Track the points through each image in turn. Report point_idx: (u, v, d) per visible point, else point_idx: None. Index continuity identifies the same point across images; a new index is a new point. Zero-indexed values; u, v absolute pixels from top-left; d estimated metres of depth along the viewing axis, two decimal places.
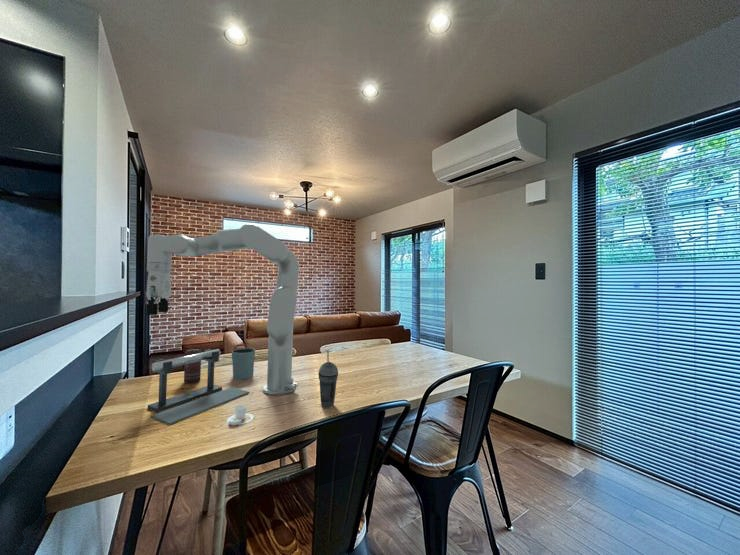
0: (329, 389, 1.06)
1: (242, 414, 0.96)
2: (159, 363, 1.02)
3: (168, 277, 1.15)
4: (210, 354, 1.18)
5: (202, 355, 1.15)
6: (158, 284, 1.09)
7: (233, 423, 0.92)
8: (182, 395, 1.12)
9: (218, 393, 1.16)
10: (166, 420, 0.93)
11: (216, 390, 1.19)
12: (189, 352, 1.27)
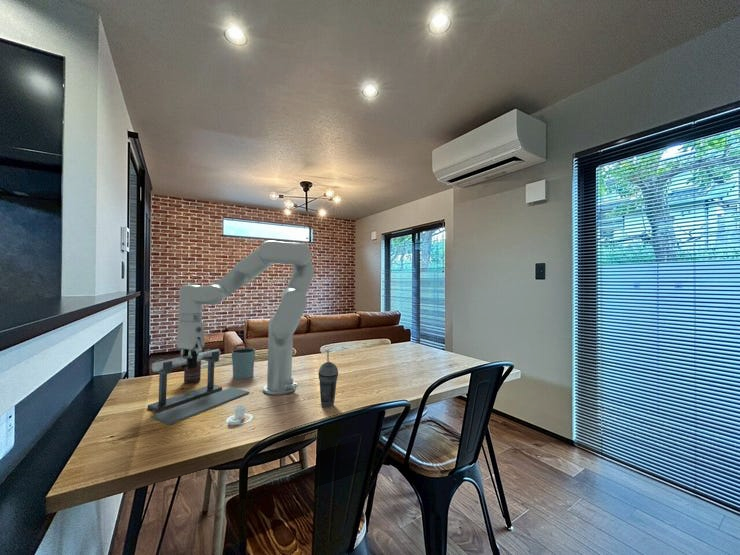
0: (329, 389, 1.06)
1: (241, 414, 0.96)
2: (159, 363, 1.02)
3: None
4: (210, 354, 1.18)
5: (202, 355, 1.15)
6: (202, 335, 1.12)
7: (232, 423, 0.92)
8: (182, 395, 1.12)
9: (218, 393, 1.16)
10: (166, 420, 0.93)
11: (216, 390, 1.19)
12: None
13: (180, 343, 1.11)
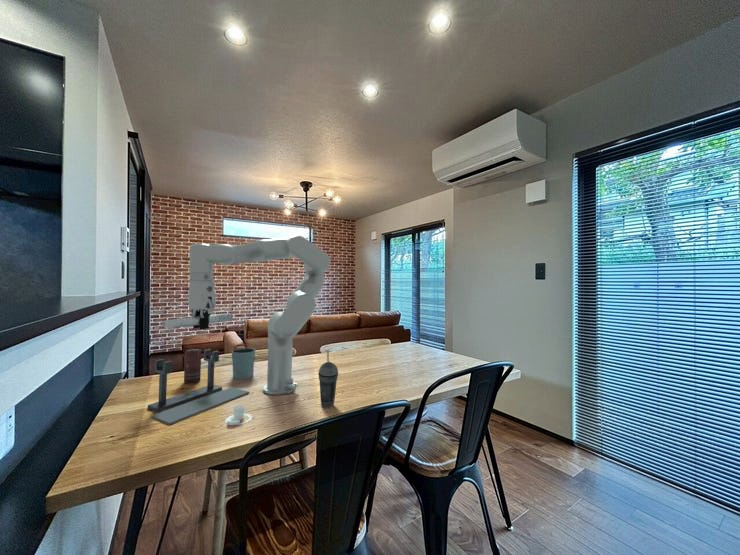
0: (329, 389, 1.06)
1: (240, 414, 0.96)
2: (170, 321, 1.00)
3: None
4: (222, 317, 1.16)
5: (213, 317, 1.13)
6: (214, 294, 1.09)
7: (231, 423, 0.92)
8: (182, 395, 1.12)
9: (218, 393, 1.16)
10: (166, 420, 0.93)
11: (216, 390, 1.19)
12: (189, 352, 1.27)
13: (191, 304, 1.09)
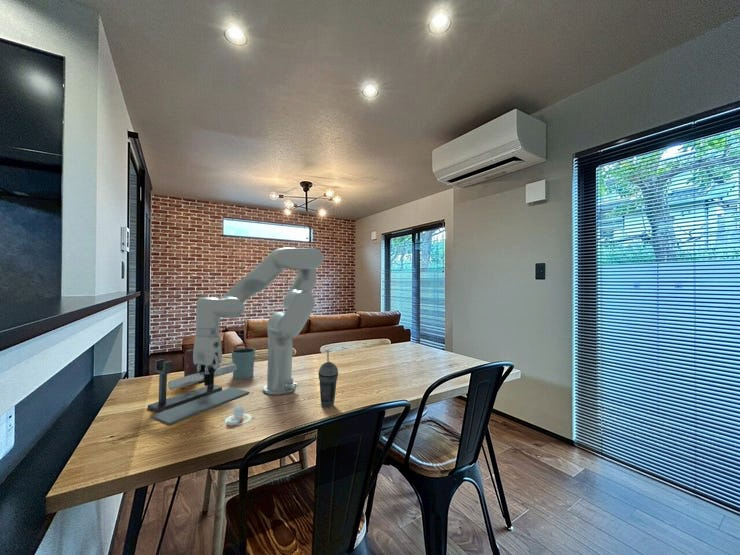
0: (329, 389, 1.06)
1: (240, 414, 0.96)
2: (176, 381, 0.97)
3: None
4: (227, 369, 1.14)
5: (218, 371, 1.10)
6: (220, 350, 1.07)
7: (231, 423, 0.92)
8: (182, 395, 1.12)
9: (218, 393, 1.16)
10: (166, 420, 0.93)
11: (216, 390, 1.19)
12: (189, 352, 1.27)
13: (196, 359, 1.07)
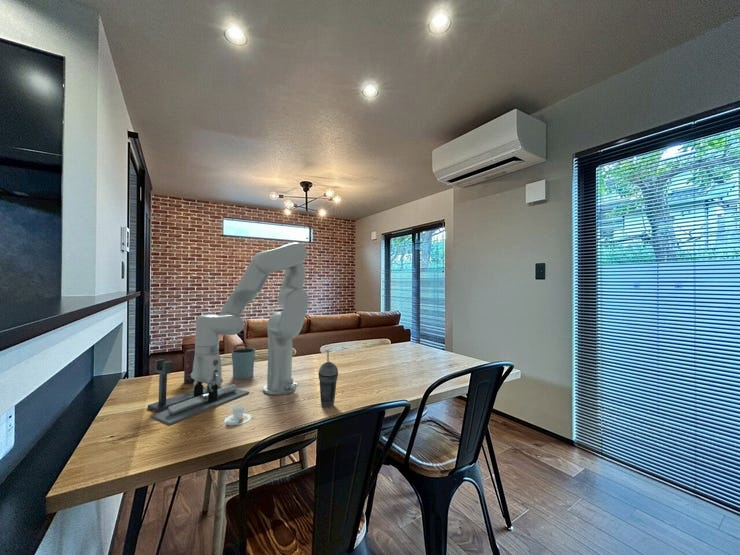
0: (329, 389, 1.06)
1: (239, 415, 0.96)
2: (176, 406, 0.97)
3: None
4: (226, 391, 1.14)
5: (218, 393, 1.11)
6: (219, 367, 1.07)
7: (230, 423, 0.92)
8: (182, 395, 1.12)
9: None
10: (166, 420, 0.93)
11: None
12: (189, 352, 1.27)
13: (196, 377, 1.07)
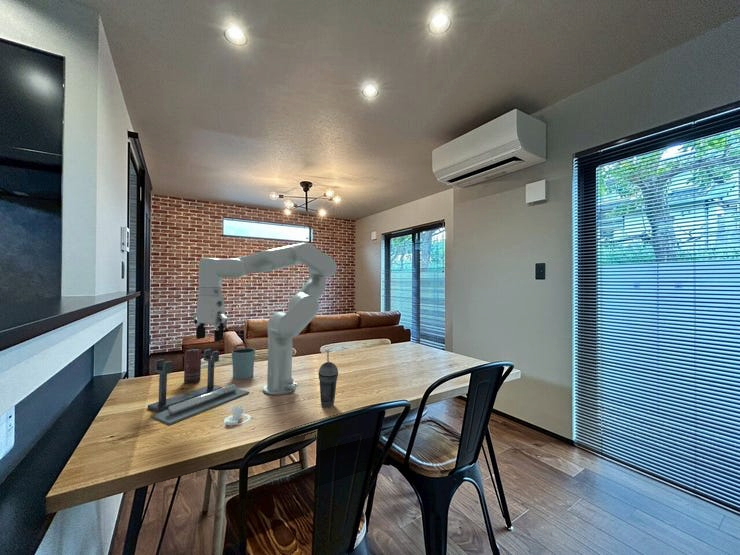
0: (329, 389, 1.06)
1: (239, 415, 0.96)
2: (176, 406, 0.97)
3: None
4: (226, 391, 1.14)
5: (218, 393, 1.11)
6: (223, 309, 1.08)
7: (230, 423, 0.92)
8: (182, 395, 1.12)
9: None
10: (166, 420, 0.93)
11: None
12: (189, 352, 1.27)
13: (200, 319, 1.08)
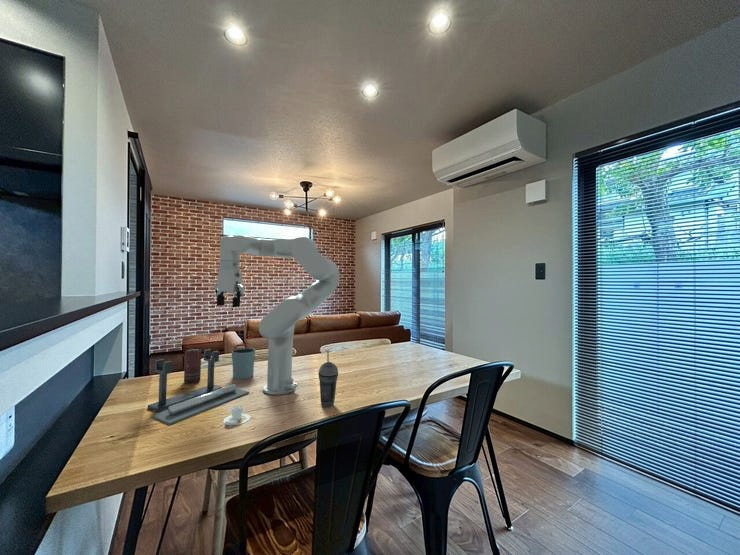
0: (329, 389, 1.06)
1: (238, 415, 0.96)
2: (176, 406, 0.97)
3: None
4: (226, 391, 1.14)
5: (218, 393, 1.11)
6: (240, 280, 1.26)
7: (229, 423, 0.92)
8: (182, 395, 1.12)
9: None
10: (166, 420, 0.93)
11: None
12: (189, 352, 1.27)
13: (220, 288, 1.26)
